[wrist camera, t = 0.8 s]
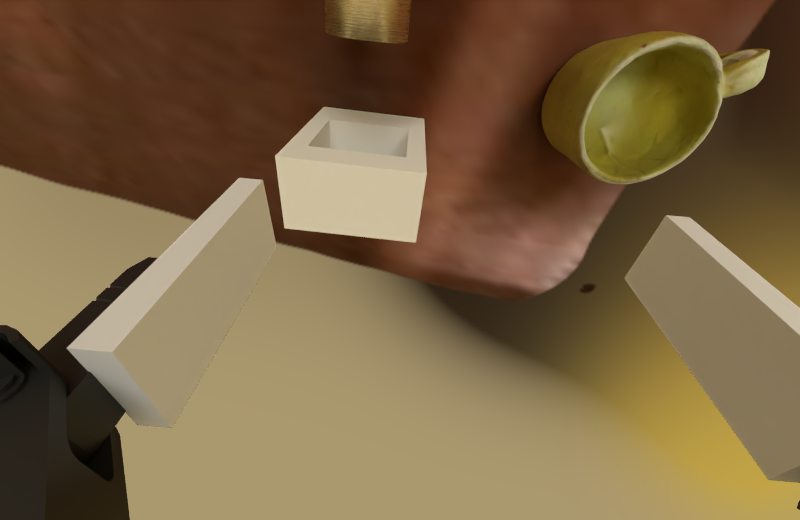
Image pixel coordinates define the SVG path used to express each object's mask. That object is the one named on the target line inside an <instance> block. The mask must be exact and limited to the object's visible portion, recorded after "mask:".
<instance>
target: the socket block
mask: <svg viewBox="0 0 800 520" xmlns="http://www.w3.org/2000/svg"><path fill="white" fill-rule="evenodd" d="M275 160H276V167H277V175H278V183H279V190H280V198H281V206H282V213H283V221H284V228H287V229H296V230H305V231H314V232H323V233H332V234H341V235H350V236H359V237H368V238H377V239H386V240H395V241H405V242H414V243H416V239H417V233H418V226H419V220H420V214H421V207H422V201H423V195H424V188H425V182H426V176H427V167H426V145H425V123H424V119H423V118H415V117H406V116H398V115H390V114H381V113H373V112H365V111H356V110H348V109H340V108H331V107H323V108H322V109H321V110H320V111H319V112H318V113H317V114H316V115H315V116H314V117H313V118H312V119H311V120H310V121H309V122H308V123H307V124H306V125H305V126H304V127H303V128H302V129H301V130H300V131H299V132H298V133H297V134H296V135H295V136H294V137H293V138H292V139H291V140H290V141H289V142H288V143H287V144H286V145H285V146H284V148H283V149H282V150H281V151H280V152H279V153H278V154H277V155H276V156H275Z"/></svg>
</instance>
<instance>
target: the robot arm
mask: <svg viewBox="0 0 800 520" xmlns="http://www.w3.org/2000/svg"><path fill="white" fill-rule="evenodd" d="M276 248H277V247H276V242H275V237H274V232H273V227H272V222H271V217H270V212H269V208H268V203H267V198H266V193H265V188H264V183H263V180H258V179H247V178H239V179H238V180H237V181H236V182H235V183H234V184H232V185H231V186H230V187H229V188H228V189H227V190H226V191H225V192H224V193H223V194H222V195H221V196H220V197H219V198H218V199H217V200H216V201H215V202H214V203H213V204H212V205H211V206H210V207H209V208H208V209H207V210H206V211H205V212H204V213H203V214H202V215H201V216H200V217H199V218H198V219H197V220H196V221H195V222H194V223H193V224H192V225H191V226H190V227H189V228H188V229H187V230H186V231H185V232H184V233H183V234H182V235H181V236H180V237H179V238H178V239H177V240H176V241H175V242H174V243H173V244H172V245H171V246H170V247H169V248H168V249H167V250H166V251H165V252H164V253H163V254H162V255H160V256H159V258H151V257H148V258H147V259H145V260H143V261H141V262H140V263H138V264H136V265H134V266H132V267H130V268H129V269H127V270H126V271H125V272H124V273H122V274H121V275H120V276H119V277H118V278H117V279H116V280H115V281H114V282H113V283H112V284H111V286H110V288H106V289H105V290H104V291H103V292H102V293H101V294H100V295H99V296H97V300H96V301H92V302H91V303H90V304H89V305H88V306H87V307H86V308H85V309H83V310H82V311H81V312H80V313H79V314H78V315H77V316H76V317H75V318H74V319H72V321H70V322H69V323H68V324H67V325H66V326H65V327H64V328H63V329H62V330H61V331H59V332H58V333H57V334H56V335H55V336H54V337H53V338H52V339H51V340H50V341H49V342H48V343H46V344H45V345H44V346H43V347H42V348H41V349H40V350H39V351H38V350H37V349H36V348H35V347H34V346H33V345H32V344H31V343H30V342H29V341H28V340H27V339H26V338H25V337H24V336H22V334H20V332H19V331H17V330H16V329H14V328H11V327H9V326H7V325H0V520H130V518H129V509H128V500H127V493H126V483H125V475H124V466H123V457H122V449H121V440H120V435H119V433H118V430H117V428H116V427H115V425H116V424H117V423H118V421H119V420H120V419H121V417H122V416H123V414H124V413H125V412H126V413H127V414H128V415H129V417H130V418H131V419H132V420H133V421H134V422H135V423H136V424H137V425H143V426H154V427H165V428H172V427H173V426H174V424H175V422H176V420H177V419H178V417H179V415H180V414H181V412H182V410H183V409H184V407H185V405H186V403H187V402H188V400H189V398H190V397H191V395H192V393H193V391H194V390H195V388H196V386H197V385H198V383H199V381H200V379H201V378H202V376H203V374H204V372H205V371H206V369H207V367H208V366H209V364H210V362H211V360H212V359H213V357H214V355H215V354H216V352H217V350H218V348H219V346H220V345H221V343H222V341H223V340H224V338H225V336H226V335H227V333H228V331H229V329H230V328H231V326H232V324H233V323H234V321H235V319H236V317H237V316H238V314H239V312H240V310H241V309H242V307H243V305H244V304H245V302H246V300H247V298H248V297H249V295H250V293H251V292H252V290H253V288H254V286H255V284H256V283H257V281H258V280H259V278H260V276H261V274H262V273H263V271H264V269H265V267H266V266H267V264H268V262H269V260H270V259H271V257H272V255H273V254H274V252H275V250H276ZM624 279H625V280H626V282H627V283H628V285H629V286H630V287H631V289H632V290H633V291H634V293H635V294H636V296H637V297H638V298H639V300H640V301H641V303H642V304H643V305H644V307H645V308H646V310H647V311H648V312H649V314H650V315H651V317H652V318H653V319H654V321H655V322H656V324H657V325H658V326H659V328H660V329H661V331H662V332H663V333H664V335H665V336H666V337H667V339H668V340H669V342H670V343H671V345H672V346H673V347H674V349H675V350H676V351H677V353H678V354H679V356H680V357H681V359H682V360H683V361H684V363H685V364H686V365H687V367H688V368H689V370H690V371H691V372H692V374H693V375H694V377H695V378H696V379H697V381H698V382H699V383H700V385H701V386H702V388H703V389H704V391H705V392H706V393H707V395H708V396H709V397H710V399H711V400H712V402H713V403H714V405H715V406H716V407H717V409H718V410H719V411H720V413H721V414H722V416H723V417H724V419H725V420H726V421H727V423H728V424H729V426H730V427H731V428H732V430H733V431H734V433H735V434H736V435H737V437H738V438H739V439H740V441H741V442H742V444H743V445H744V446H745V448H746V449H747V451H748V452H749V454H750V455H751V456H752V458H753V459H754V460H755V462H756V463H757V465H758V466H759V467H760V469H761V470H762V471H763V473H764V474H765V476H766V477H767V479H768V480H775V481H786V482H798V483H800V308H799V307H798V306H796V305H795V304H794V303H793V302H791V301H790V300H789V299H788V298H787V297H785V296H784V295H783V294H782V293H781V292H779V291H778V290H777V289H776V288H775V287H773V286H772V285H771V284H770V283H768V282H767V281H766V280H765V279H764V278H762V277H761V276H760V275H759V274H758V273H756V272H755V271H754V270H753V269H751V268H750V267H749V266H748V265H747V264H745V263H744V262H743V261H742V260H741V259H739V258H738V257H737V256H736V255H734V254H733V253H732V252H731V251H730V250H728V249H727V248H726V247H725V246H723V245H722V244H721V243H720V242H719V241H717V240H716V239H715V238H714V237H713V236H712V235H710V234H709V233H708V232H706V230H704V229H703V228H702V227H700V226H699V225H698V224H697V223H696V222H694V221H693V220H692V219H691V218H689V217H680V216H667V215H666V216H665V218H664V219H663V221H662V222H661V224H660V225H659V227H658V228H657V230H656V232H655V233H654V234H653V236H652V237H651V239H650V240H649V242H648V243H647V245H646V246H645V248H644V249H643V251H642V252H641V254H640V255H639V257H638V258H637V260H636V261H635V263H634V264H633V266H632V268H631V269H630V270H629V272H628V273H627V275H626V276H625V278H624ZM797 508H798V509H799V510H800V501H799V503H798V506H797Z"/></svg>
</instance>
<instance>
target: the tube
mask: <svg viewBox="0 0 800 520" xmlns="http://www.w3.org/2000/svg"><path fill="white" fill-rule="evenodd" d="M411 2H412V0H325V32H326V34H329V35H333V36H338V37H343V38H349V39H356V40H364V41H373V42H384V43H407V42H408V33H409V23H410V12H411Z"/></svg>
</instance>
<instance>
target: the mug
mask: <svg viewBox="0 0 800 520" xmlns="http://www.w3.org/2000/svg"><path fill="white" fill-rule="evenodd" d="M769 53H770V51H769V50H766V49H747V50H743V51H732V52H728V53H723V54H718V53H717V51H716V50H715V48H714V47H712V46H711V45H710V44H709V43H708V42H707V41H705V40H704V39H702V38H699V37H697V36H694V35H690V34H686V33H681V32H674V31H653V32H646V33H641V34H637V35H633V36H627V37H623V38H618V39H612V40H607V41H603V42H600V43H598V44H595V45H593V46H591V47H589V48H587V49H585V50H583V51H581V52H579V53H578V54H576V55H575V56H573V57H572V58H571V59H570V60H569V61H568V62H567V63H566V64H565V65H564V66H563V67H562V68H561V69H560V70H559V71H558V72H557V74H556V75H555V77H554V79H553V80H552V82H551V84H550V86H549V88H548V90H547V92H546V95H545V98H544V101H543V104H542V113H541V117H542V126H543V129H544V132H545V135H546V137H547V139H548V141H549V142H550V144H551V145H552V146H553V147H554V148H555V149H557V150H558V151H559V152H561V153H562V154H564V155H565V156H567V157H568V158H569V159H570V160H571V161H572V162H573V163H575V164H576V165H577V166H578V167H579V168H581V169H582V170H583V171H584V172H585V173H586V174H587V175H589V176H590V177H592V178H594V179H596V180H599V181H601V182H604V183H610V184H631V183H636V182H641V181H645V180H647V179H650V178H652V177H655V176H657V175H659V174H662V173H663V172H665V171H667V170H669V169H670V168H672V167H674V166H675V165H677V164H679V163H680V162H681V161H683V160H684V159H685V158H687V157H688V156H689V155H690V154H691V153H692V152H693V151H694V150H695V149H696V148H697V147H698V145H699V144H700V143H701V142H702V141H703V140H704V138H705V137H706V136H707V134H708V133H709V131H710V130H711V128H712V126H713V124H714V122H715V120H716V118H717V114H718V111H719V108H720V106H721V103H722V98H725V97H729V96H733V95H737V94H740V93H743V92H745V91H747V90H749V89H751V88H753V87H755V86H756V85H757V84H758V83H759V82H760V81H761V80H762V79H763V77H764V73H765V70H766V65H767V61H768V58H769Z"/></svg>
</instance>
